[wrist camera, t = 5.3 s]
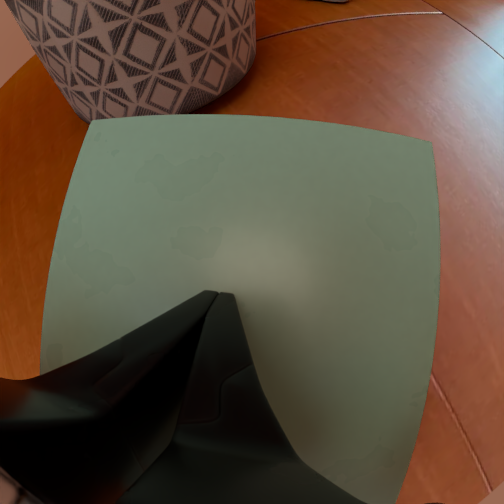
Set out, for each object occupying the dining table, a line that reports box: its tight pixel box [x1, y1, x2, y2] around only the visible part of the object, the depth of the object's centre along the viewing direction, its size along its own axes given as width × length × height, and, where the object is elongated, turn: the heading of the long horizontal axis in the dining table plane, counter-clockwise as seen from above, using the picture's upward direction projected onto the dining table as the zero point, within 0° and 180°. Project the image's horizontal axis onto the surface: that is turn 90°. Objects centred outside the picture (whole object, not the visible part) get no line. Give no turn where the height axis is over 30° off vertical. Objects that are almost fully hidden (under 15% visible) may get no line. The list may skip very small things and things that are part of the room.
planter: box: [5, 0, 256, 124], centre depth 19 cm, size 19×19×16 cm
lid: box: [40, 114, 440, 504], centre depth 9 cm, size 14×14×1 cm
